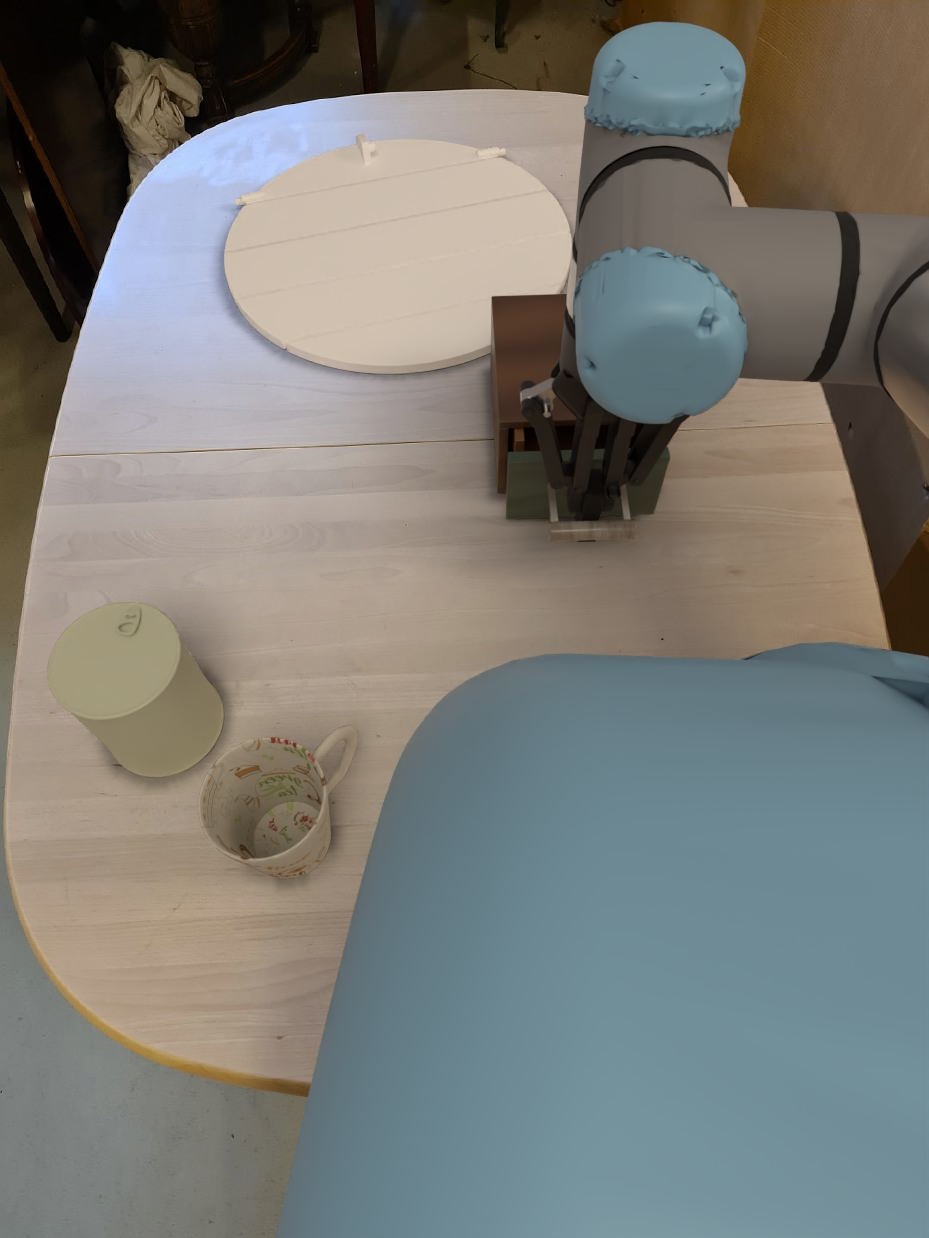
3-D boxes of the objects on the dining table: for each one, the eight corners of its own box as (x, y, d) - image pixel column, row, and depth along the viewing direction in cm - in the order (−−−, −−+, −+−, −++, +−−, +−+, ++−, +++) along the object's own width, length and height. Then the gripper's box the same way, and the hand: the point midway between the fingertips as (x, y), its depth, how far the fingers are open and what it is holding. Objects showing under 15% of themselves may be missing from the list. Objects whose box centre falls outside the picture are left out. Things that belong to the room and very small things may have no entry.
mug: (212, 852, 64) (170, 812, 55) (319, 723, 69) (296, 668, 60) (297, 919, 61) (267, 887, 53) (402, 780, 66) (391, 730, 58)
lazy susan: (204, 177, 105) (196, 150, 102) (508, 121, 110) (509, 93, 107) (256, 409, 86) (248, 384, 83) (622, 329, 91) (627, 302, 88)
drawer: (663, 568, 75) (681, 514, 68) (509, 573, 75) (512, 519, 68) (633, 396, 85) (647, 334, 78) (498, 400, 85) (500, 339, 78)
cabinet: (653, 488, 80) (673, 416, 72) (497, 493, 80) (499, 422, 72) (632, 368, 88) (648, 291, 79) (490, 373, 88) (491, 295, 79)
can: (238, 680, 71) (197, 607, 60) (202, 786, 66) (151, 726, 56) (133, 664, 72) (74, 588, 61) (90, 767, 67) (19, 705, 57)
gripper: (717, 267, 56) (653, 492, 76) (518, 274, 56) (508, 497, 76) (739, 349, 52) (666, 562, 73) (525, 356, 52) (512, 567, 73)
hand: (585, 529), depth 74 cm, fingers closed
